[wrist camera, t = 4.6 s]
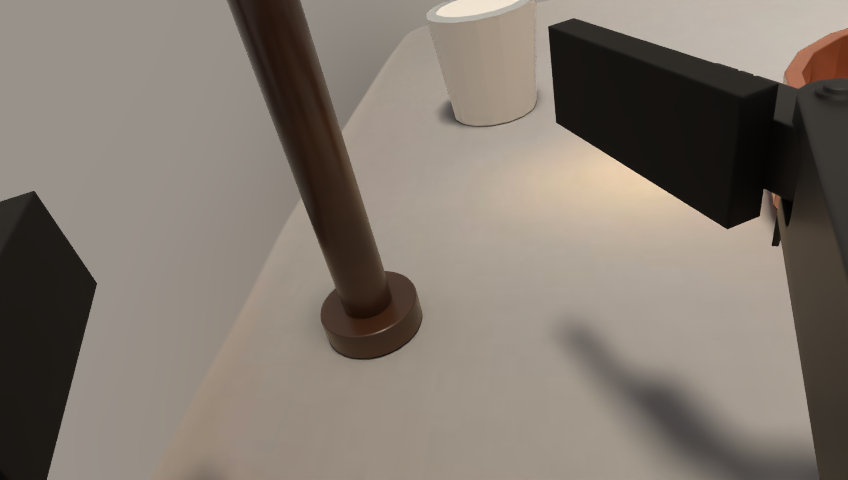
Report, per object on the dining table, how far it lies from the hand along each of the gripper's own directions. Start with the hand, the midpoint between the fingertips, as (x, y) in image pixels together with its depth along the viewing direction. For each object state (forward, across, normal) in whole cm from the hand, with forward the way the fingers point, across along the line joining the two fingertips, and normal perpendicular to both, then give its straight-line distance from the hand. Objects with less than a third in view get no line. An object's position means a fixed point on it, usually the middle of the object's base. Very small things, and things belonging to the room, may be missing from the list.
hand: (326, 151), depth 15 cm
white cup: (+21, +13, -10) cm, 27 cm away
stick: (+5, 0, -10) cm, 11 cm away
